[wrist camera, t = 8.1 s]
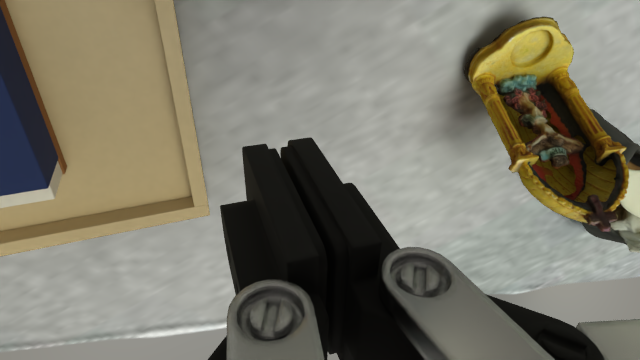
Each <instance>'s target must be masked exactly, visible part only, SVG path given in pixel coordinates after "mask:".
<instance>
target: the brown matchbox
mask: <svg viewBox="0 0 640 360" xmlns="http://www.w3.org/2000/svg"><path fill="white" fill-rule="evenodd" d="M66 169H67V165H66V162H65V159H64V157H63V154H62V151H61V149H60V146H59V143H58V141H57V138H56V135H55V133H54V130H53V127H52V125H51V122H50V119H49V117H48V114H47V112H46V109H45V106H44V104H43V101H42V98H41V96H40V93H39V90H38V88H37V85H36V82H35V80H34V77H33V74H32V72H31V69H30V66H29V64H28V61H27V58H26V56H25V53H24V50H23V48H22V45H21V42H20V40H19V37H18V34H17V32H16V29H15V26H14V24H13V21H12V19H11V16H10V13H9V11H8V8H7V5H6V3H5V0H0V208H4V207H10V206H16V205H22V204H28V203H34V202H40V201H46V200H52V199H55V196H56V193H57V190H58V187H59V183H60V180H61V177H62V174H65V172H66Z"/></svg>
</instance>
